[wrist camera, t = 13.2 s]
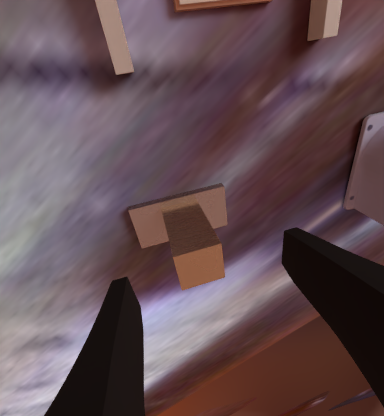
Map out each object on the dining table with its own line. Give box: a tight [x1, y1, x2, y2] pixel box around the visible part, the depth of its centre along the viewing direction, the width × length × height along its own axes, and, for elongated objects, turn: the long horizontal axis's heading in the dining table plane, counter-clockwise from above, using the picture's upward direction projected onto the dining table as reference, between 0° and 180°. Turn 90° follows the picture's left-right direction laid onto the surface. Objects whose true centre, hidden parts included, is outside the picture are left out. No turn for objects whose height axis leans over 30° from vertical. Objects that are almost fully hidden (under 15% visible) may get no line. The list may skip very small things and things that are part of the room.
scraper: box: [128, 183, 227, 290], centre depth 17 cm, size 4×8×7 cm, turn 99°
